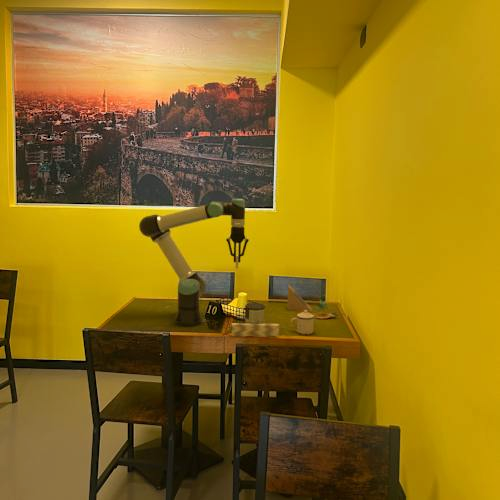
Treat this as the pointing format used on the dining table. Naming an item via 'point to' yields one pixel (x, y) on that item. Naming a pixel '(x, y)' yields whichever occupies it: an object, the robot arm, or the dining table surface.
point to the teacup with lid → (304, 322)
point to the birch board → (255, 329)
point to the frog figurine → (323, 305)
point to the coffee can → (254, 313)
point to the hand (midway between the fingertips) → (236, 268)
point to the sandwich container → (296, 301)
